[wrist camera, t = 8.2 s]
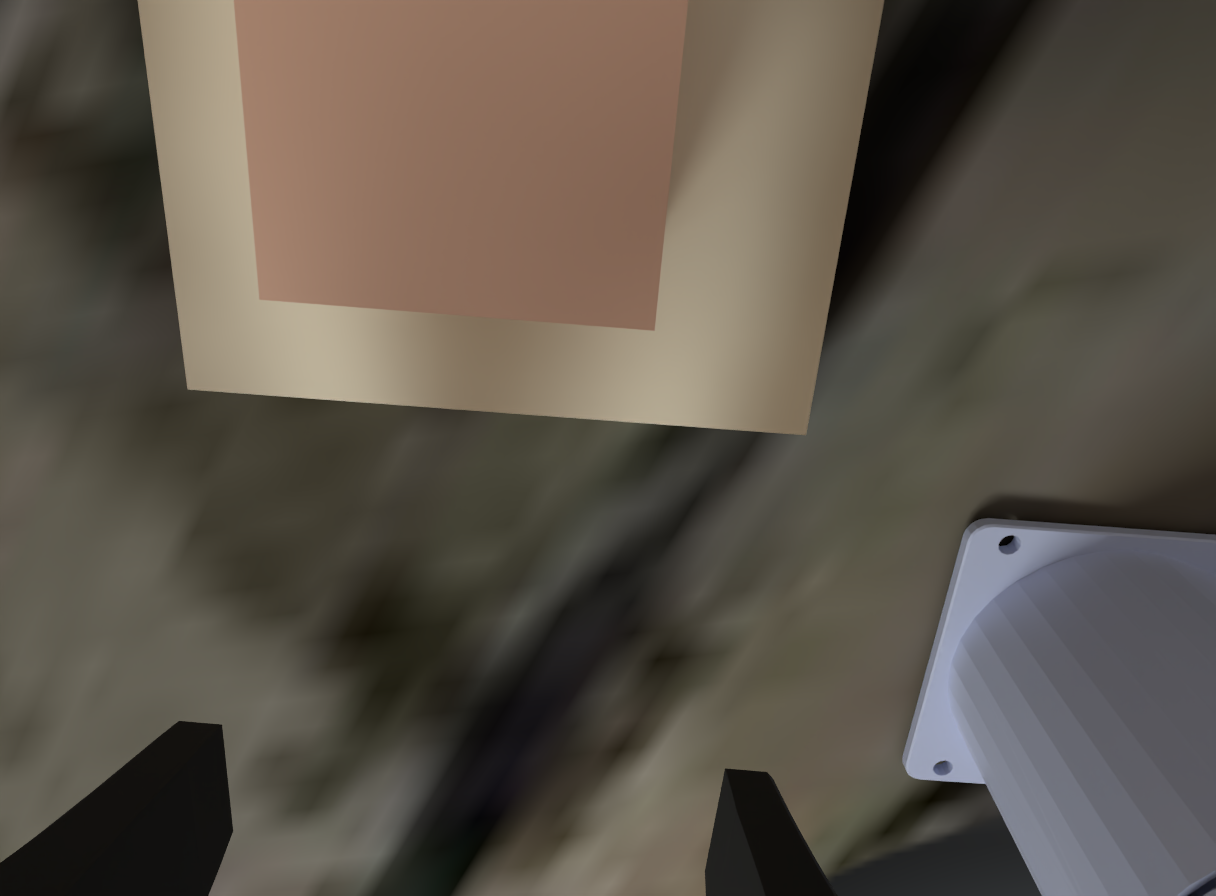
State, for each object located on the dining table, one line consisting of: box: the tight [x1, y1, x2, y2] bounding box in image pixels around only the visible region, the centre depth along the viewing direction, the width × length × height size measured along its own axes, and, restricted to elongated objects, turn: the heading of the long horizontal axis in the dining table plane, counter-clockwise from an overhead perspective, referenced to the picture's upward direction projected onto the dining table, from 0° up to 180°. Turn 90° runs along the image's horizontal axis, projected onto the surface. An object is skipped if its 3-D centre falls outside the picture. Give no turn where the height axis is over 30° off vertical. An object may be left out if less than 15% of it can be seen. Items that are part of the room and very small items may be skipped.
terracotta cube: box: [234, 0, 688, 331], centre depth 12 cm, size 5×5×5 cm
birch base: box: [138, 0, 884, 435], centre depth 16 cm, size 12×12×3 cm
